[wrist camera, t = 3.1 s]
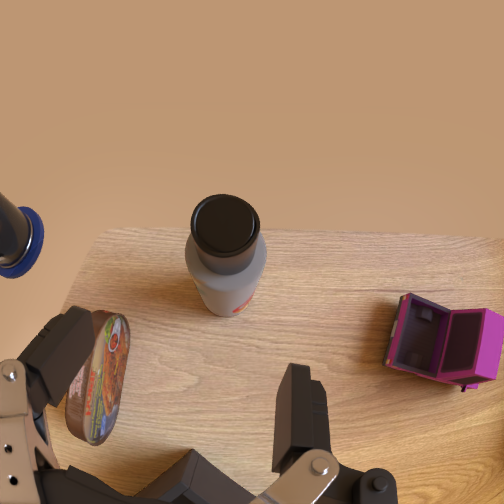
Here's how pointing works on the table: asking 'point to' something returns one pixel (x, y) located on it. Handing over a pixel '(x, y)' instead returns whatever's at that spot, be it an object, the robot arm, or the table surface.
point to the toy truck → (445, 342)
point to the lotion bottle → (225, 253)
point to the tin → (99, 380)
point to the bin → (196, 484)
